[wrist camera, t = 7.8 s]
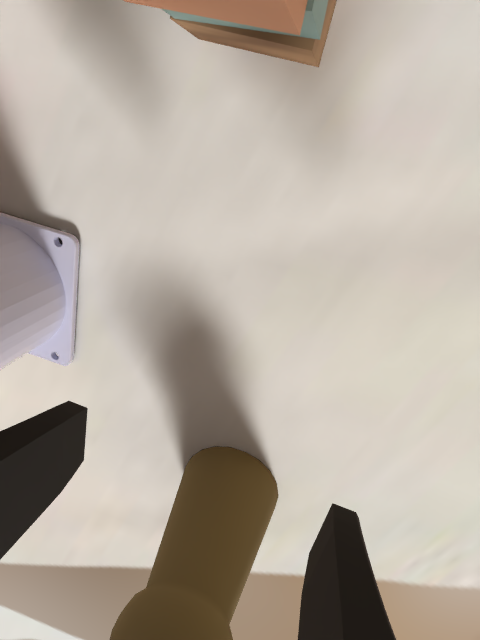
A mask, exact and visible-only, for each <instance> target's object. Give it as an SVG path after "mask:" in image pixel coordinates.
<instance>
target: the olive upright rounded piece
mask: <svg viewBox="0 0 480 640" xmlns="http://www.w3.org/2000/svg"><path fill="white" fill-rule="evenodd" d="M277 499H278V490H277V483H276V481H275V480H274V478H273V476H272V474H271V472H270V471H269V470H268V469H267V468H266V467H265V466H264V465H263V464H262V463H261V462H260V461H259V460H258V459H256V458H255V457H253V456H251V455H250V454H248V453H246V452H244V451H241V450H237V449H234V448H231V447H211V448H207V449H203V450H201V451H199V452H198V453H196V454H195V455H194V456H192V457H191V459H190V460H189V462H188V464H187V465H186V468H185V471H184V474H183V477H182V480H181V483H180V486H179V489H178V492H177V495H176V498H175V501H174V504H173V507H172V510H171V513H170V516H169V520H168V523H167V526H166V529H165V532H164V535H163V538H162V541H161V544H160V547H159V550H158V553H157V556H156V559H155V562H154V565H153V568H152V571H151V575H150V578H149V581H148V584H147V587H146V588H145V589H144V590H142V591H140V592H138V593H137V594H135V595H134V597H133V598H132V599H131V600H130V602H129V603H128V604H127V606H126V607H125V608H124V610H123V611H122V612H121V614H120V616H119V617H118V619H117V621H116V623H115V626H114V627H113V629H112V633H111V637H110V640H233V638H232V634H231V630H230V626H229V624H230V622H231V619H232V616H233V614H234V611H235V609H236V606H237V603H238V601H239V598H240V596H241V593H242V591H243V588H244V586H245V583H246V581H247V578H248V575H249V573H250V570H251V568H252V565H253V563H254V560H255V557H256V555H257V552H258V550H259V547H260V545H261V542H262V540H263V537H264V534H265V532H266V529H267V527H268V524H269V522H270V519H271V516H272V514H273V511H274V509H275V506H276V502H277Z"/></svg>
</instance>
